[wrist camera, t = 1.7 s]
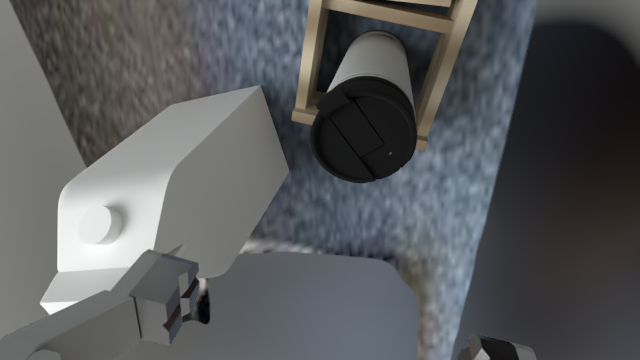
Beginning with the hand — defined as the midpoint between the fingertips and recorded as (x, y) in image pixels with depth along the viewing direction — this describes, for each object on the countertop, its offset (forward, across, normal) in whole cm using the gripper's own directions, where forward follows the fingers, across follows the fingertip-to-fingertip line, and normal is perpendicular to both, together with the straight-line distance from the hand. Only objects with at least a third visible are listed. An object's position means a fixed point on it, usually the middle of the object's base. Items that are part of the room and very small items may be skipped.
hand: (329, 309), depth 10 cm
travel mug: (+32, 0, 0) cm, 32 cm away
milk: (+32, +15, +13) cm, 37 cm away
